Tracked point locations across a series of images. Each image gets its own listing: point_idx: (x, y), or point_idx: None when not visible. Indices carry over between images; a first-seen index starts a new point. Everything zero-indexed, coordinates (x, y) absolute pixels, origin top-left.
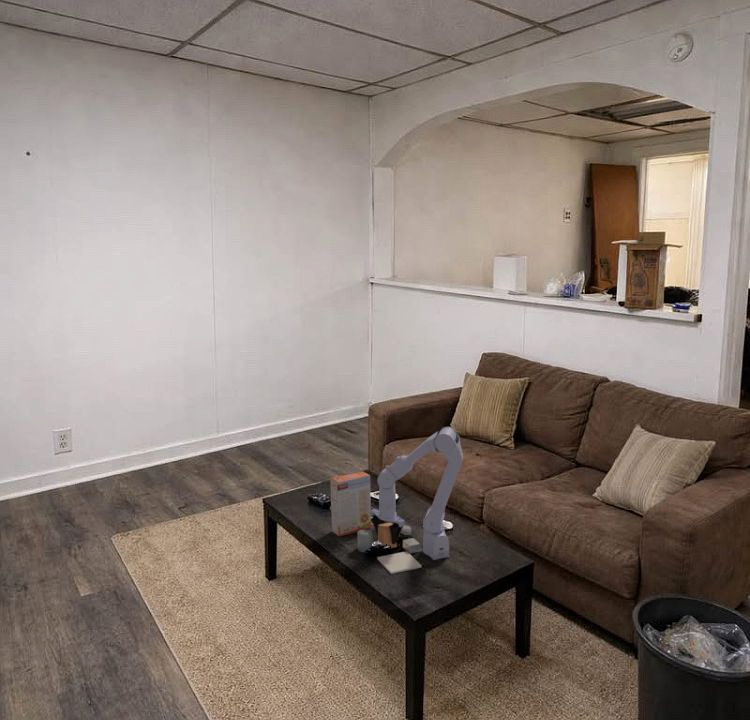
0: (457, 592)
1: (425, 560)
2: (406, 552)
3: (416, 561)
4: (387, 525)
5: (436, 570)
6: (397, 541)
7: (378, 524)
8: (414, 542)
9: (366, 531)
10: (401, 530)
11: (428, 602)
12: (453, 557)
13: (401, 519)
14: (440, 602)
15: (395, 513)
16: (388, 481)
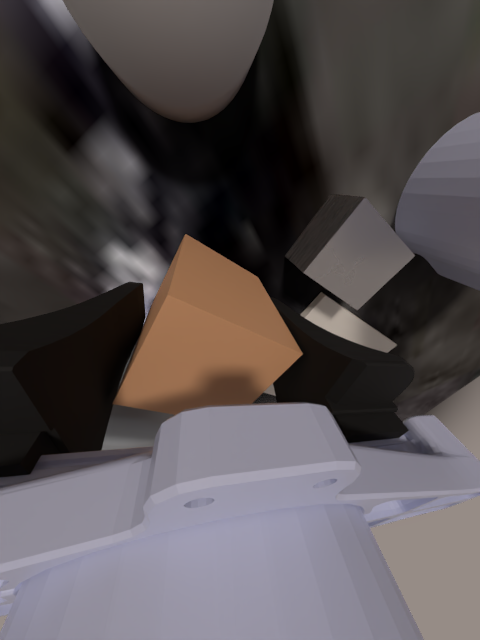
0: (475, 370)
1: (405, 297)
2: (327, 306)
3: (377, 335)
4: (197, 368)
5: (440, 328)
6: (276, 300)
7: (105, 393)
8: (380, 259)
9: (114, 434)
10: (189, 46)
11: (408, 414)
12: None
13: (459, 488)
14: (431, 405)
15: (395, 581)
16: None
